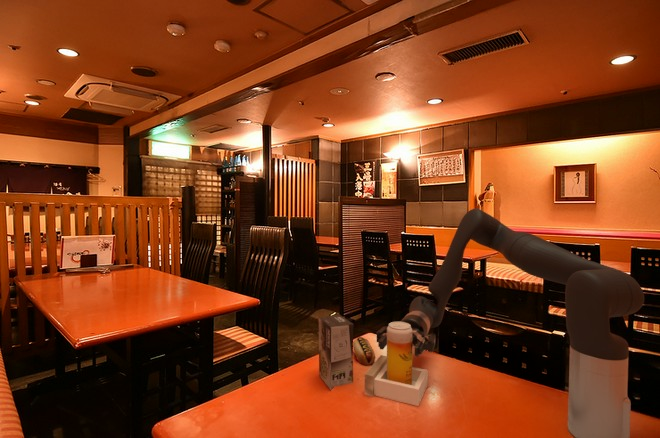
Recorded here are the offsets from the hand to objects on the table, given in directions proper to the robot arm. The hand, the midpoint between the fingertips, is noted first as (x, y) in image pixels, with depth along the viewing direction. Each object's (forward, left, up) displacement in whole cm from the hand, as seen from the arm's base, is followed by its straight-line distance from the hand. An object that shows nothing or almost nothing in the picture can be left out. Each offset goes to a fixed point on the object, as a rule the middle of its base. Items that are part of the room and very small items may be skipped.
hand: (398, 348), depth 84 cm
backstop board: (-3, -2, -12) cm, 12 cm away
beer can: (0, -2, -10) cm, 10 cm away
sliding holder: (0, -2, -11) cm, 11 cm away
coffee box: (+17, -1, -12) cm, 21 cm away
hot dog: (+15, -16, -12) cm, 25 cm away
